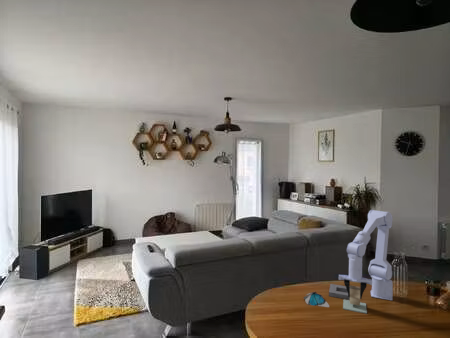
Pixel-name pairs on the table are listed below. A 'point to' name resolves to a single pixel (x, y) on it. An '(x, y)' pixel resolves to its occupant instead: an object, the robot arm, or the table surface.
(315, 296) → the decorative butterfly
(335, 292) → the pocket holder
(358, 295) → the maple block
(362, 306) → the rubber mat
